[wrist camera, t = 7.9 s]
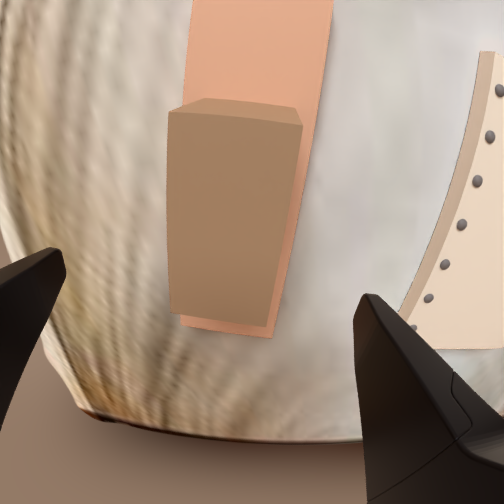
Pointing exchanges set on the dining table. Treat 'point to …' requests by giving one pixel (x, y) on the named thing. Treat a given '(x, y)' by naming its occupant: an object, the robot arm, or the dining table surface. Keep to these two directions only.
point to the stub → (241, 157)
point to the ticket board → (468, 234)
